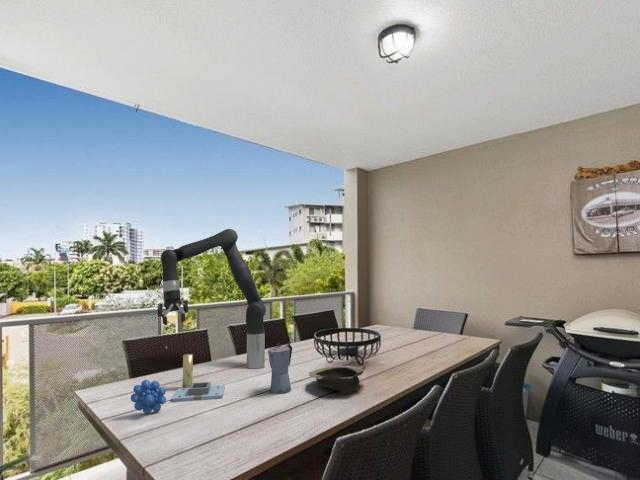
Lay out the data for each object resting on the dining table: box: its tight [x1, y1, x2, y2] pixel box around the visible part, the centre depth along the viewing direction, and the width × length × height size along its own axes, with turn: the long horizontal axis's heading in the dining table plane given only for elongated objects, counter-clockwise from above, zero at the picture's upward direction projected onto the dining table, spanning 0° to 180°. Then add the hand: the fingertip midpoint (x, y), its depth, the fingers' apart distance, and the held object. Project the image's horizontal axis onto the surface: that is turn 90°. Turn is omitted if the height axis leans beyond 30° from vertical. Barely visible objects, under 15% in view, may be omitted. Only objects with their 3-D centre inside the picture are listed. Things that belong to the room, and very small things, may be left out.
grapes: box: [130, 379, 167, 415], centre depth 124 cm, size 12×7×12 cm, turn 120°
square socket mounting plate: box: [171, 381, 226, 403], centre depth 144 cm, size 19×12×4 cm, turn 101°
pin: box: [181, 353, 194, 388], centre depth 152 cm, size 4×4×14 cm
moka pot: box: [267, 341, 293, 395], centre depth 150 cm, size 10×15×20 cm, turn 152°
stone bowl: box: [308, 365, 366, 396], centre depth 152 cm, size 25×25×9 cm
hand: (174, 323), depth 170 cm, fingers open, 8 cm apart
